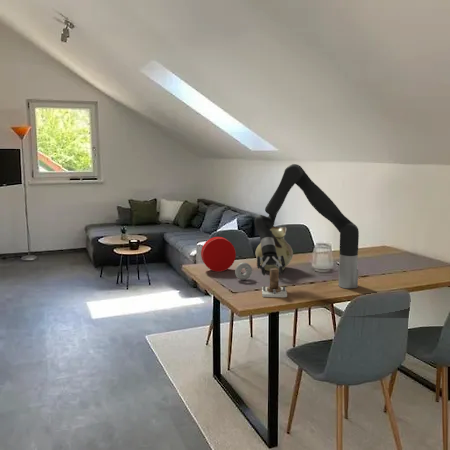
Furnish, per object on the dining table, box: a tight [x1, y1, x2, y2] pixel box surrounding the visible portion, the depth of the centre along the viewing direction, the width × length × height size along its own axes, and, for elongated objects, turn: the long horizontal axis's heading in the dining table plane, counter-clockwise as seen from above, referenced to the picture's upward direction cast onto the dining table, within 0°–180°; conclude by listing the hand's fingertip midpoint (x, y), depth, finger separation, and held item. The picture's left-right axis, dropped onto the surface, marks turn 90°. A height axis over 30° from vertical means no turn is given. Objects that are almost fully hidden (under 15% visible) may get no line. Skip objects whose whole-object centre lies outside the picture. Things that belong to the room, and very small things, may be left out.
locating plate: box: [261, 285, 288, 298], centre depth 235 cm, size 12×12×4 cm
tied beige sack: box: [254, 225, 294, 272], centre depth 281 cm, size 22×24×25 cm
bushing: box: [266, 268, 282, 292], centre depth 234 cm, size 7×7×11 cm
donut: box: [234, 262, 253, 281], centre depth 259 cm, size 10×4×10 cm, turn 113°
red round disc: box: [200, 236, 237, 273], centre depth 279 cm, size 20×6×20 cm, turn 103°
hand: (272, 274), depth 237 cm, fingers open, 8 cm apart
